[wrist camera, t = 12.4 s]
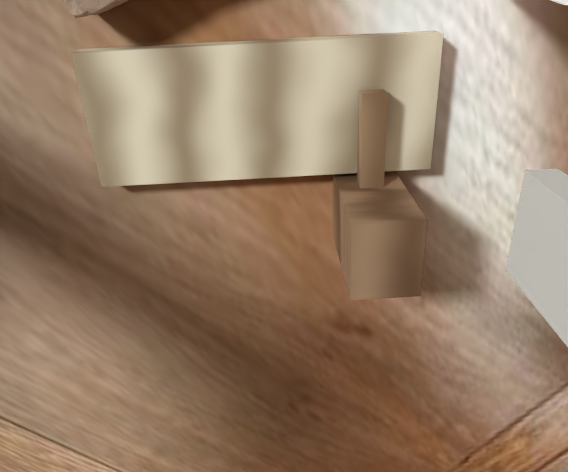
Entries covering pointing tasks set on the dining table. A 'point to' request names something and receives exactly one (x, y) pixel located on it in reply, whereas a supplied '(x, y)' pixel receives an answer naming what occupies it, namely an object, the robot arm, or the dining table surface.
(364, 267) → the brown block with handle
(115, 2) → the brick
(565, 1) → the beverage cup
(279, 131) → the board
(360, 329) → the dining table surface
